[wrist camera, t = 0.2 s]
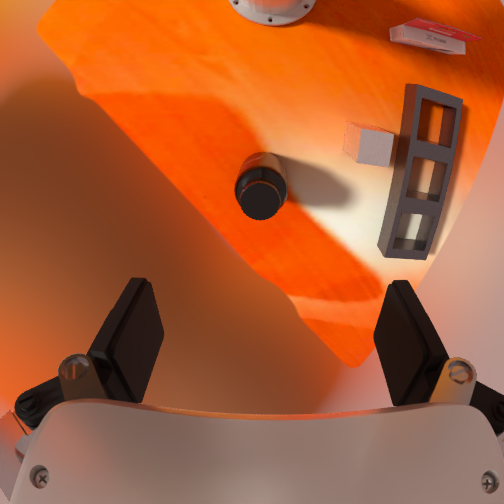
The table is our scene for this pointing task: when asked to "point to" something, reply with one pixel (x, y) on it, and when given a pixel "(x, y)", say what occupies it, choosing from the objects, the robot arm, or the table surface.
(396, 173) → the dark grey compartment tray
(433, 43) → the ink cartridge box
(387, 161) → the light grey block
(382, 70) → the table surface
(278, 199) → the supplement bottle
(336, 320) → the table surface
